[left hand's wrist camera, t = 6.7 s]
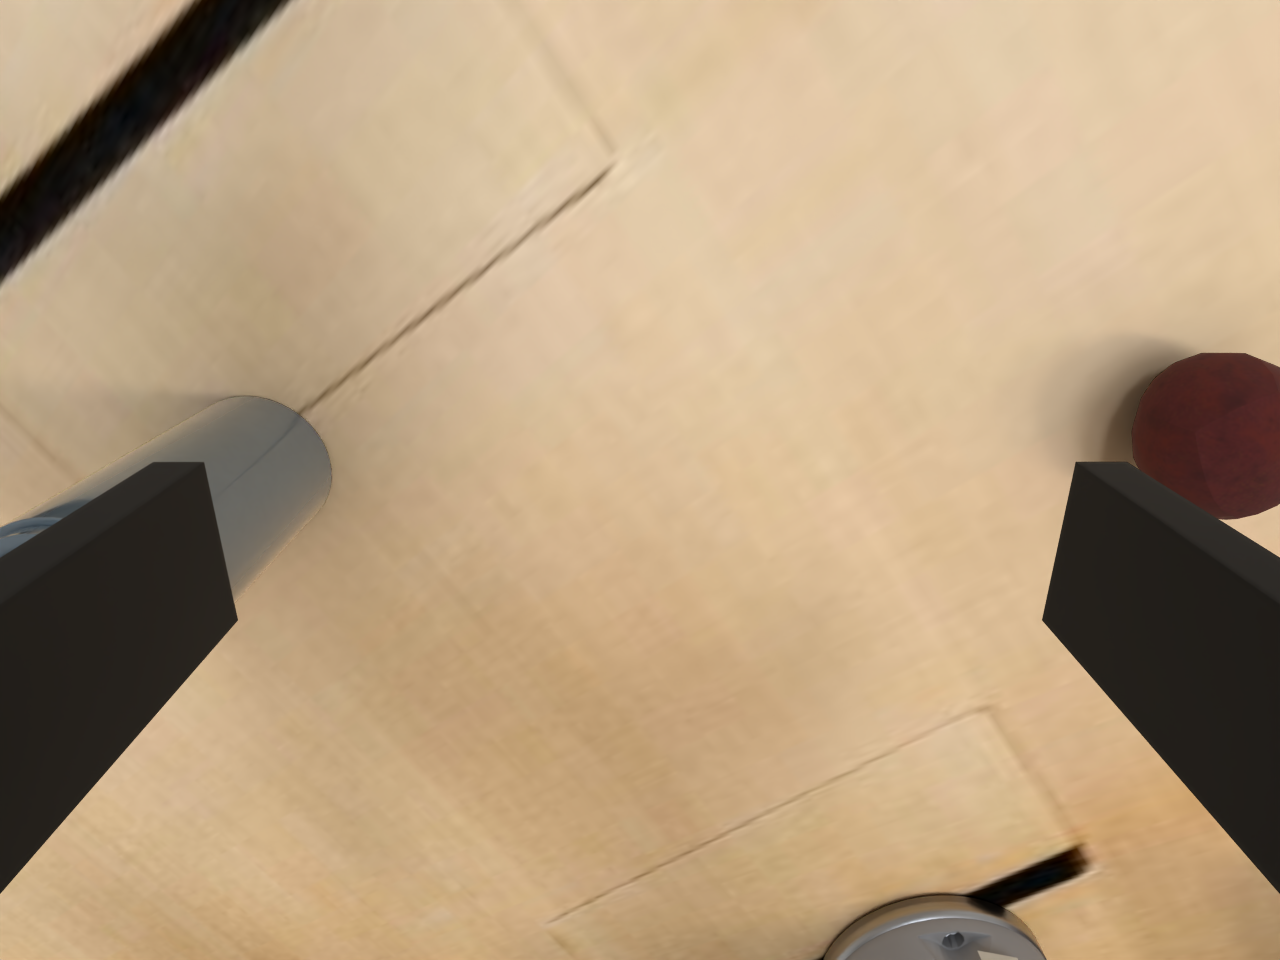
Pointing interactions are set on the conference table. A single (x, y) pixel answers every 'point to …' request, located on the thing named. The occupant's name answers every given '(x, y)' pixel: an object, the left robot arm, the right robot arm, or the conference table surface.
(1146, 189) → the conference table surface
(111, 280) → the conference table surface
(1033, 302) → the conference table surface
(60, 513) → the bottle
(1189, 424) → the dark red ball
